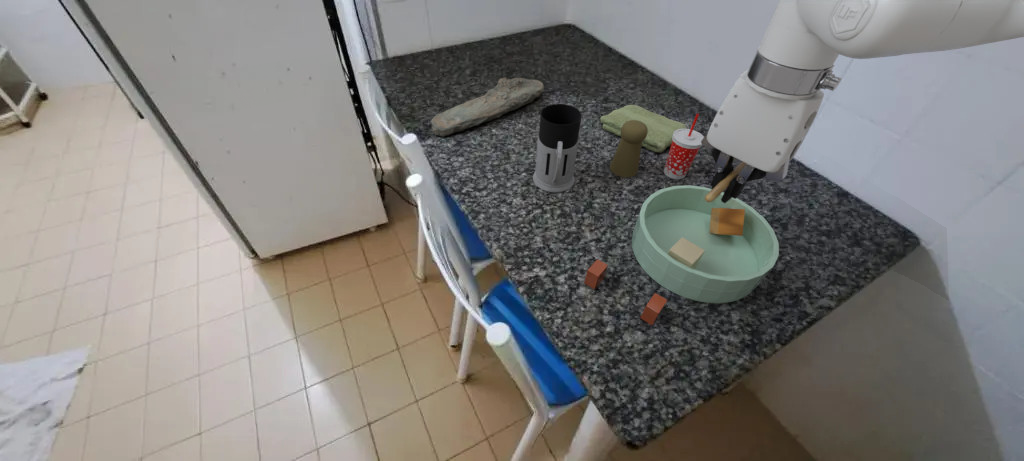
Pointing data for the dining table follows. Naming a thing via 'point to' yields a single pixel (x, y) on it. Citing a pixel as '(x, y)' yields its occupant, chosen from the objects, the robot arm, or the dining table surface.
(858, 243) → the dining table surface
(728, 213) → the amber block
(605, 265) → the red blocks
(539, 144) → the glass holder
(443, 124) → the elongated grey stone
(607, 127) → the washcloth
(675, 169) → the beverage cup
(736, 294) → the bowl
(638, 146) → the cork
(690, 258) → the cream block
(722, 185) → the tan wooden rod
